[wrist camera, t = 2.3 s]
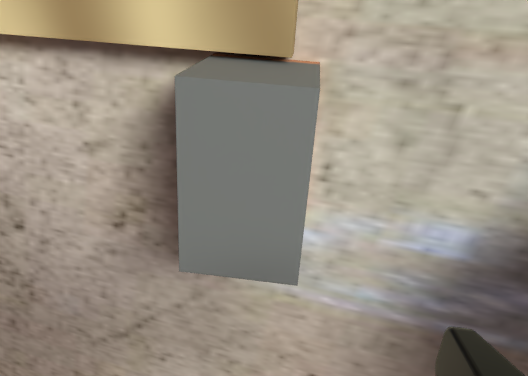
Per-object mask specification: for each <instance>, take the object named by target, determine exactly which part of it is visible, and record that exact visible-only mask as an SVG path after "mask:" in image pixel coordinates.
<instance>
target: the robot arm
mask: <svg viewBox="0 0 528 376" xmlns="http://www.w3.org/2000/svg"><path fill="white" fill-rule="evenodd" d="M435 374H436V376H525V375H524V374H523V373H522V372H520V371H519V370H518V369H517V368H516V367H515V366H514V365H512V364H511V363H510V362H509V361H508V360H507V359H506V358H505V357H503V356H502V355H501V354H500V353H499V352H498V351H497V350H495V349H494V348H493V347H492V346H491V345H490V344H489V343H488V342H486V341H485V340H484V339H483V338H482V337H481V336H480V335H478V334H477V333H476V332H475V331H473V330H472V329H467V328H459V327H449V328H447V329H446V331H445V333H444V336H443V339H442V343H441V346H440V349H439V353H438V356H437V359H436V365H435Z"/></svg>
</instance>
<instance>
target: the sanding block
mask: <svg viewBox="0 0 528 376" xmlns="http://www.w3.org/2000/svg"><path fill="white" fill-rule="evenodd" d="M319 93H320V62H310V61H298V60H285V59H273V58H260V57H248V56H235V55H223V54H213V55H211V56H209V57H207V58H206V59H204V60H202V61H200V62H199V63H197V64H195V65H193V66H192V67H190V68H188V69H186V70H185V71H183V72H181V73H179V74H177V75H176V76H175V106H176V150H177V194H178V237H179V271H181V272H189V273H198V274H206V275H214V276H222V277H231V278H239V279H247V280H255V281H264V282H272V283H280V284H288V285H297V284H298V276H299V267H300V258H301V249H302V241H303V232H304V223H305V215H306V206H307V197H308V189H309V180H310V171H311V162H312V154H313V145H314V136H315V128H316V119H317V110H318V101H319Z"/></svg>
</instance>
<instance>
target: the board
mask: <svg viewBox="0 0 528 376" xmlns="http://www.w3.org/2000/svg"><path fill="white" fill-rule="evenodd" d="M297 9H298V0H0V34H9V35H22V36H34V37H46V38H58V39H70V40H83V41H95V42H107V43H119V44H131V45H144V46H156V47H168V48H180V49H192V50H205V51H217V52H229V53H241V54H253V55H265V56H278V57H290V58H292V56H293V54H294V43H295V31H296V20H297Z"/></svg>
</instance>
